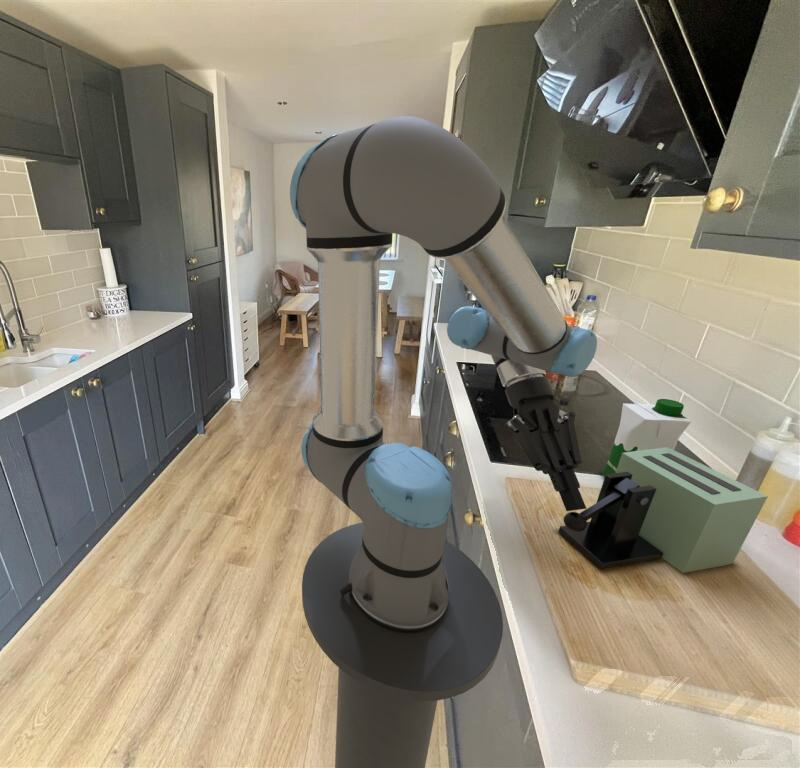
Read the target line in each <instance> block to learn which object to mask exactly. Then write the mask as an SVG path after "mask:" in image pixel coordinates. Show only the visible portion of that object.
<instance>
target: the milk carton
mask: <svg viewBox="0 0 800 768" xmlns="http://www.w3.org/2000/svg"><path fill="white" fill-rule="evenodd" d="M684 407H685V405H684V404H683V403H682V402H679V401H677V400H673V399H668V398H667V399H666V398H659V399H657V400H656V402H655V404H651V403H639V402H638V403H637V402H636V403H622V407H621V415H620V421H619V425H618V429H617V432H616V435H615V439H614V442H613V445H612V448H611V451H610V454H609V457H608V460H607V462H606V465H605V467H604V469H603V472H602V476H603V477H605V475H607V474H614V473H616V470H617V467H618V464H619V461H620V458H621V455H622V453H625V452H633V451H640V450H648V449H656V448H664V447H668V448H670V449H673V450H675V449H676V447H677V444H678V442H679V440H680V437H681V436H682V434H684V432H685V431H686V429H688V427H689V426H690V425H691V423H692V421H691V420H690V419H688V417H686V416H684V415H683V414H682V413H683V411H684Z"/></svg>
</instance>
